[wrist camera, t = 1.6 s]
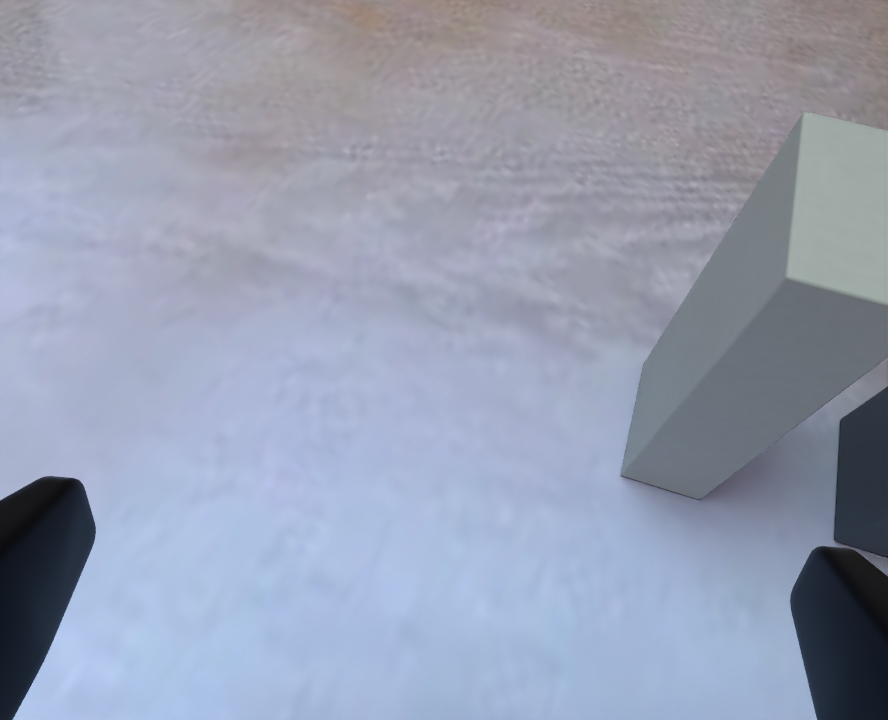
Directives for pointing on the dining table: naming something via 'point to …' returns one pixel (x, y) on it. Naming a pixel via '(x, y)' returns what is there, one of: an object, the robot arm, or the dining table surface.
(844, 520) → the grey blocks
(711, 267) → the pale green rectangular slab
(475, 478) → the dining table surface
